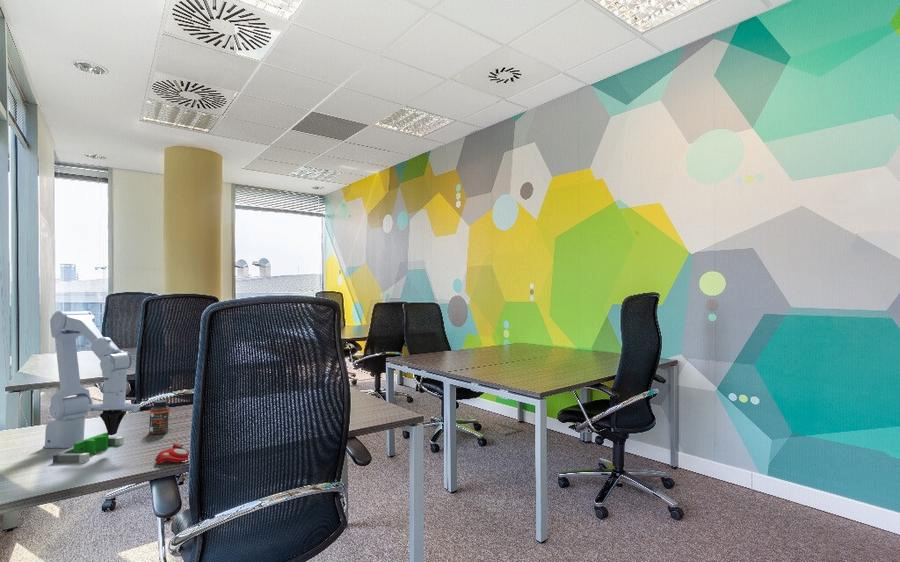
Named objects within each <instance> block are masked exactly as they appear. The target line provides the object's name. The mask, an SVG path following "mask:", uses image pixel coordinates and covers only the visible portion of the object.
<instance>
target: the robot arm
mask: <svg viewBox="0 0 900 562" xmlns="http://www.w3.org/2000/svg"><path fill="white" fill-rule="evenodd" d="M95 321H96V320H95V315H94V314H93V313H92V311H90V310H74V311H73V310H69V311H66V310H65V311H64V310H63V311H62V310H57V311H55V312H54V313H53V314H52V316H51V317H50V319H49V325H50V327H49V328H50V333H51V334H50V335H51V338H54V341H55V350H56V351H55V352H56V360H57V370H58V371H57V372H58V379H59V380H58V381H59V390H57V391H56V392H55V393H54V394H53V395H51V396H50V405H49V415H50V416H51V417H52V418H50V419H49V420H48V421H47V424H46V426H45V435H44V445H43V446H42V448H44V449H69V448H71V447H73V446H74V443H77V442H80V441H83V440H86V439H87V438H85V423H86V416H88V415H89V412H102V413H99V417H100V418H101V420H102V421H103V423H104V425H105V429H106V431H107V432H106V433H108V435H109V436H114V435H116V434H117V433H118V429H119V427H120V425H121V422H122V420H123V419H124V417H125V415H126V414H127V412H132V413H136V412H139V411H140V406H141V404H139V403H138V404H137V403H127V402H126V397H127V396H126V394H127V393H126V392H127V377H128V370H129V369H130V368H131V367H132V364H133V358H132V355H131V354H130V352H129V351H124V350H123V349H122V350H121V349H120V348H119V347H118V346H117V345H116V344H115V342H113V340H112V339H111V337H107V336H103V335H102V332H101V331H100V329H99V327H97V326H96V324H95ZM80 336H83V337H85V338H86V340H87V341H88V342H90V343H91V344H90V350H91V351H92V352H93V353H94V354H95V356H96V357H97V358H98V360H100V362H99V366H100V369H101V373H102V374H101V376H102V378H103V389H102V390H103V391H102V392H103V393H102V395H103V396H102V403H94V401H93V399H92V397H91V394H90V389H88V388H86V387H84V386H82V385H81V377H80V367H79V359H78V351H77V341H76V340H77V339H78V338H79V337H80Z"/></svg>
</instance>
